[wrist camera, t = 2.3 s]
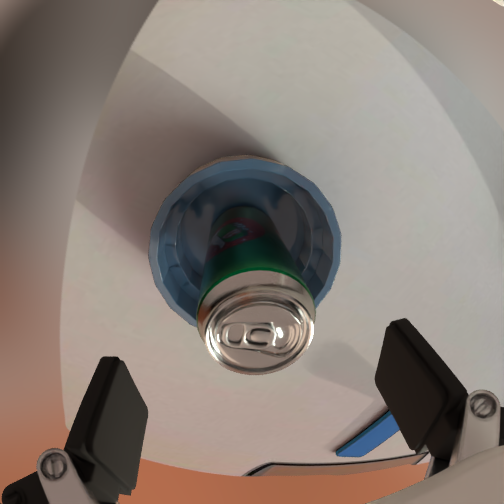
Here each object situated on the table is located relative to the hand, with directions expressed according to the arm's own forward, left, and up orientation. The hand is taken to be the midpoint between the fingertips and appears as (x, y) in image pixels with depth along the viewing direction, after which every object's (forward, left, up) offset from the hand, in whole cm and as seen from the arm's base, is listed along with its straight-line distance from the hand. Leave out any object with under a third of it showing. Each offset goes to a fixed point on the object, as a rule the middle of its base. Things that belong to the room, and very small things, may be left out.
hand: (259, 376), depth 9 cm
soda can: (0, 0, -14) cm, 14 cm away
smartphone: (+35, +18, -14) cm, 42 cm away
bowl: (0, 0, -14) cm, 14 cm away
